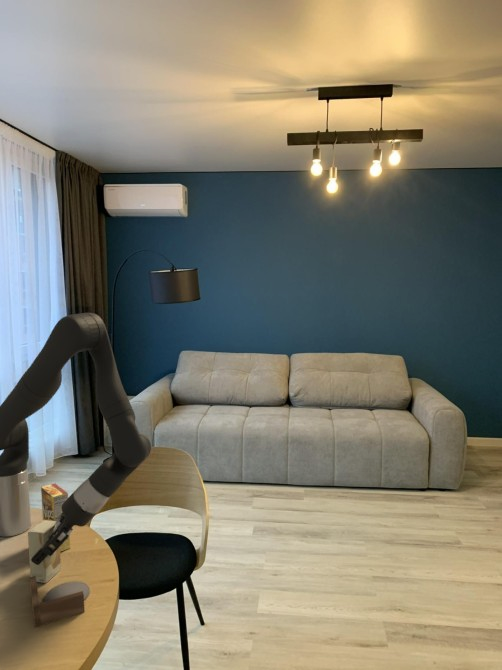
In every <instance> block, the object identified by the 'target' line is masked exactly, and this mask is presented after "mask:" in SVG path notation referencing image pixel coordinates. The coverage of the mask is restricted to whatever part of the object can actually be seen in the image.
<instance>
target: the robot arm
mask: <svg viewBox="0 0 502 670" xmlns="http://www.w3.org/2000/svg"><path fill="white" fill-rule="evenodd" d="M86 351H88V353H89V354H90V356H91V358H92V361H93V364H94V367H95V397H96V403H97V406H98V408H99V411H100V413H101V415H102V417H103V420H104V421H105V423H106V425H107V427H108V431H109V435H110V440H111V444H112V446H113V447H112V448H113V450H114V452H113V453H112V454H111V456H110V457H109V458H107V459H106V460H105V461H104V462H103V463H101V464H100V465H99V466H98V467H97V468H96V469H95V470H94V471H93V472H92V473H91V475H90V476H88V478H87V479H85V480H84V481H82V482H81V484H80V485H79V486H77V488H76V489H75V490H74V491H73V492H72V493H71V494H70V495H69V496H68V499H67V500H66V501H65V502H64V503H63V504H62V513H61V514H60V516H59V517H58V518H57V519H56V520H54V521H56V522H57V523H56V524H55V527H54V528H53V530H52V531H51V532H50V534H49V535H48V540H47V541H46V542H45V544H43V546H42V547H41V548H40V550H39V551H38V552H37V553H36V554H35V555H34V556H33V557H32V559H31V561H32V562H33V563H35V564H36V565H39V564H40V563H41V562H42V561H43V560H44V559H45V558H46V557H47V556H48V555H49V556H51V555H53V553H54V552H55V551H56V550H57V549H58V548H59V547H60V546H61V545H62V544H63V542H64V541H65V540H66V539H68V537H69V534H70V535H71V533H72V532H73V530H74V529H73V527H74V526H77V527H80V528H81V527H85V526H86V525H87V524H88V523H89V522H90V521H91V520H92V519H93V518H94V517H95V516H96V515H97V514H98V513H99V512H100V510H102V509H103V507H104V506H105V505H106V504H107V502H108V500H110V498H111V497H112V496H113V495H114V494H115V493H116V492H117V491H118V489H119V488H120V487H121V486H122V485H123V483H124V482H125V481H126V479H127V478H128V477H129V476H130V475H132V473H133V472H134V471H135V470H137V468H138V467H140V466H141V465H142V463H143V462H144V461H146V460H147V458H148V457H149V455H150V454H151V450H152V444H151V443H152V442H151V440H150V439H149V438H148V437H147V435H144V434H143V433H140V432H139V430H138V426H137V424H136V414H135V411H134V409H133V407H132V404H131V401H130V400H129V398H128V396H127V393H126V391H125V389H124V386H123V384H122V381H121V377H120V374H119V371H118V367H117V363H116V360H115V355H114V352H113V349H112V344H111V340H110V337H109V334H108V331H107V327H106V324H105V323H104V321H103V319H102V318H101V316H100V315H98V314H96V313H94V312H83V313H75V314H68V315H66V316H63V317H62V318H60V319H59V320H58V321H57V323H56V324H55V325H54V327H53V329H52V330H51V332H50V334H49V336H48V338H47V340H46V342H45V343H44V344H43V347H42V348H41V350H40V351H39V353H38V354H37V355H36V357H35V359H34V360H33V361H32V363H31V364H30V366H28V367H27V369H26V371H25V372H24V373H23V374H22V376H21V377H20V378H19V380H18V381H17V382H16V384H15V386H14V388H13V389H12V390H11V391H10V392H9V394H8V395H7V396H6V398H4V400H3V402H2V403H1V405H0V451H2V453H0V537H12V536H17V535H20V534H22V533H23V534H24V533H25V532H26V531H29V530H30V528H31V527H32V518H31V516H32V515H31V503H30V502H31V501H30V491H29V490H30V488H29V475H28V461H29V457H30V445H29V444H30V440H29V439H30V435H29V434H30V433H29V432H30V431H29V425H28V422H27V420H26V419H28V418H29V417H31V416H32V415H34V414H35V413H37V412H38V411H40V410H41V409H42V408H44V407H45V406H46V405H47V404H48V403H49V402H51V400H52V398H54V395H56V393H57V392H58V391H59V389H60V388H61V385H62V380H63V373H62V369H63V368H64V367H65V365H66V364H67V363H68V362H69V361H70V360H71V358H72V357H74V355H76V354H79V353H82V352H86ZM53 534H54V536H53ZM50 544H52V545H53V547H52V548H51V547H50V546H49V545H50Z"/></svg>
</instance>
